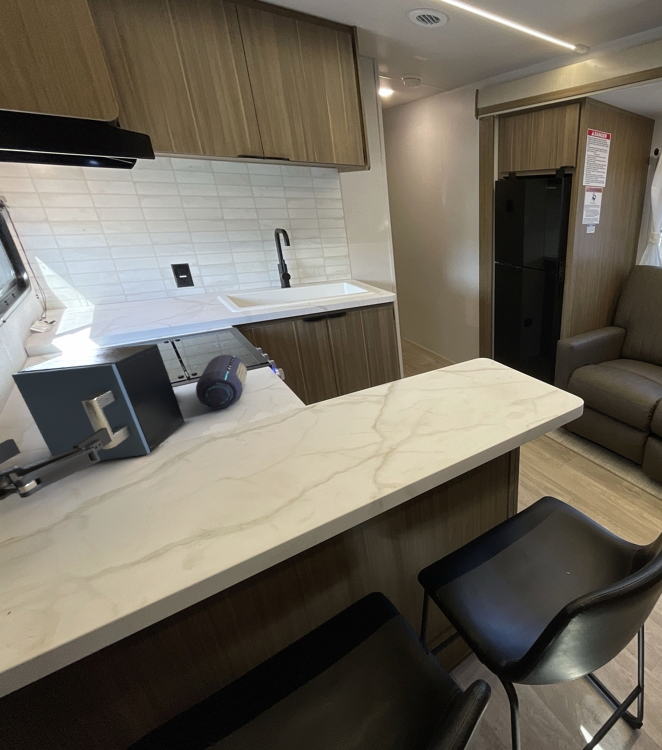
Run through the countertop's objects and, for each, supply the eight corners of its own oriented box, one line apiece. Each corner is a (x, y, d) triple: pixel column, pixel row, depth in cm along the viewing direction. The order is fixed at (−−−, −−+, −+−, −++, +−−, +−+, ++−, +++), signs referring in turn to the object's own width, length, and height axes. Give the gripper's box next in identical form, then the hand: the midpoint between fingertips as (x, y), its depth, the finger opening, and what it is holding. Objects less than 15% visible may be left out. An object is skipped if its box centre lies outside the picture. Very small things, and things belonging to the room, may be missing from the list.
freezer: (151, 451, 85) (115, 362, 78) (62, 463, 82) (16, 371, 75) (185, 422, 97) (157, 343, 91) (109, 432, 95) (74, 351, 88)
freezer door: (130, 469, 78) (90, 374, 71) (33, 482, 75) (-19, 385, 68) (150, 451, 84) (115, 363, 77) (61, 463, 81) (16, 373, 75)
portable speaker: (245, 408, 104) (235, 372, 101) (199, 417, 100) (187, 380, 97) (251, 379, 125) (243, 348, 122) (214, 386, 121) (204, 354, 118)
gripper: (-185, 565, 49) (-16, 470, 68) (56, 527, 53) (150, 448, 73) (-227, 515, 46) (-38, 431, 66) (30, 480, 51) (135, 411, 70)
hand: (61, 440), depth 69 cm, fingers open, 13 cm apart
